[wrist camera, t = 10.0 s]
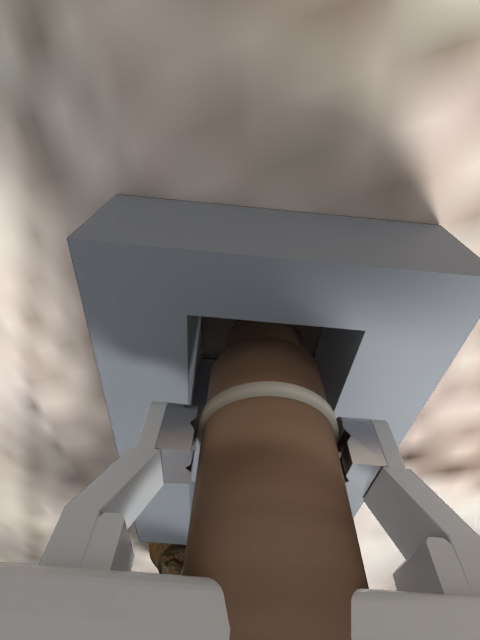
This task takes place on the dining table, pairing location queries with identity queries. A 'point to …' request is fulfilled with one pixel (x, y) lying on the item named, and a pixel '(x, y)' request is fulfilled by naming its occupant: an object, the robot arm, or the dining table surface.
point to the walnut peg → (273, 493)
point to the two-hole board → (266, 310)
